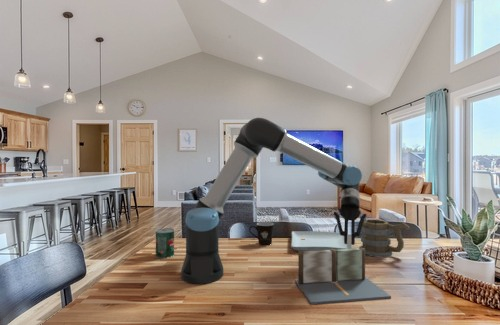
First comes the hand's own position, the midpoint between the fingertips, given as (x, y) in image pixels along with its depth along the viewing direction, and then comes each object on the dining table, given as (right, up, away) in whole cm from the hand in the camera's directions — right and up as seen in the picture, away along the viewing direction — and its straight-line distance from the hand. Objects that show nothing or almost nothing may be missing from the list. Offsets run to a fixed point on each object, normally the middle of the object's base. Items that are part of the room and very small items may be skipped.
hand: (349, 251), depth 102 cm
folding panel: (-3, -6, -9) cm, 11 cm away
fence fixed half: (-14, -7, -10) cm, 19 cm away
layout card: (-8, -7, -15) cm, 18 cm away
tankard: (+22, -8, +19) cm, 30 cm away
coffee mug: (-31, -8, +36) cm, 48 cm away
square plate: (-3, -8, +33) cm, 34 cm away
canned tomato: (-75, -8, +18) cm, 77 cm away
